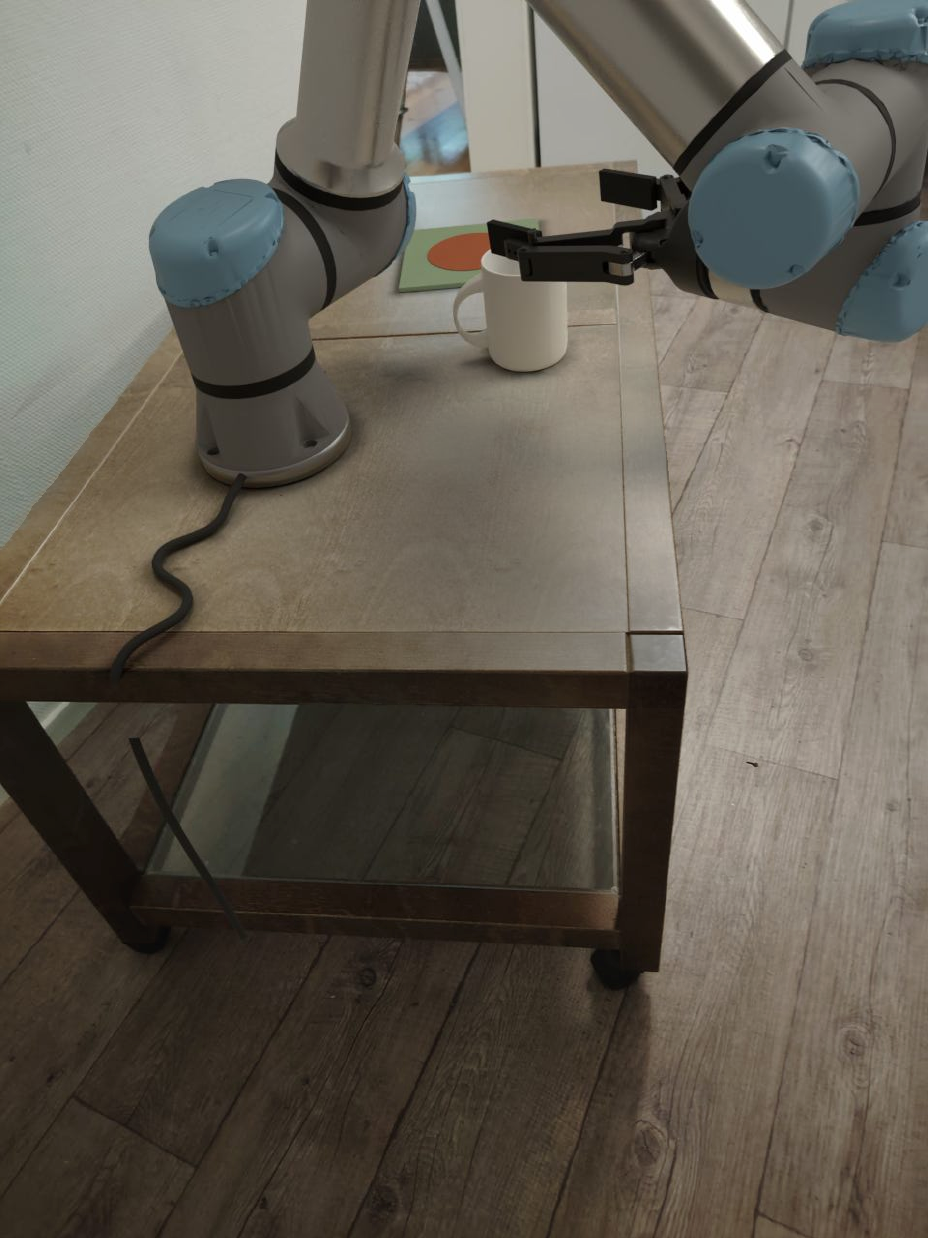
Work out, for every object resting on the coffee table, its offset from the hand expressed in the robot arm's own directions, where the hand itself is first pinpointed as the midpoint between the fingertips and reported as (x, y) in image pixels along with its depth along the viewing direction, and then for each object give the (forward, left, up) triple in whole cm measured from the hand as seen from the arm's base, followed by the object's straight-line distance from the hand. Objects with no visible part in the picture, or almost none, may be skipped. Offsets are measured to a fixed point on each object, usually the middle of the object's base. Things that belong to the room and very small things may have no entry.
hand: (548, 209), depth 82 cm
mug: (+5, +4, -17) cm, 19 cm away
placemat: (+32, +9, -17) cm, 38 cm away
